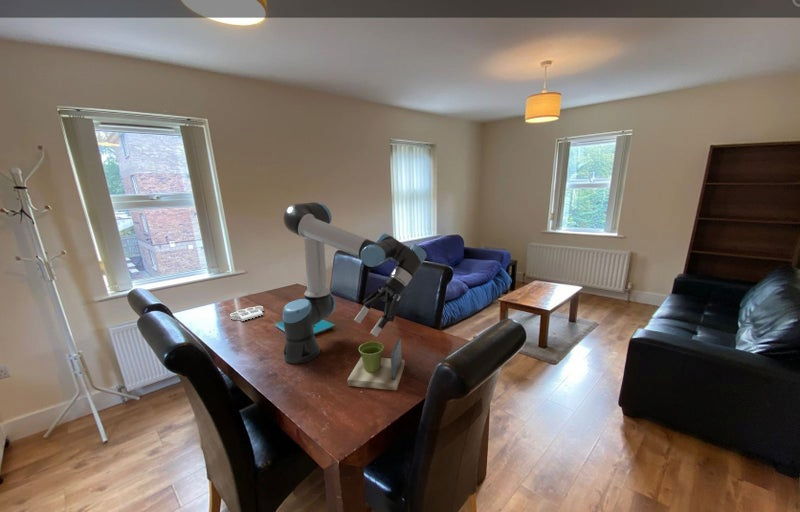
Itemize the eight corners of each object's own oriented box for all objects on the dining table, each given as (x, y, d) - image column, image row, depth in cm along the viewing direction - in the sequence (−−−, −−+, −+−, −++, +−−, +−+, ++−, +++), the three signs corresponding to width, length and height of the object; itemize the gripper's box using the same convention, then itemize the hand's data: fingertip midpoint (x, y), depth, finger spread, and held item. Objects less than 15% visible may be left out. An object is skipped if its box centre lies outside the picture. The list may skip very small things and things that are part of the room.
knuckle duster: (236, 325, 169) (227, 318, 179) (269, 315, 181) (259, 309, 191) (235, 319, 168) (227, 312, 178) (268, 309, 180) (258, 304, 191)
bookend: (391, 380, 110) (390, 354, 108) (398, 361, 122) (397, 338, 120) (395, 380, 110) (393, 354, 108) (401, 362, 121) (400, 338, 119)
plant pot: (375, 378, 112) (374, 356, 110) (354, 371, 116) (353, 350, 114) (389, 365, 119) (388, 345, 117) (369, 359, 124) (368, 339, 122)
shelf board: (347, 385, 112) (347, 379, 111) (361, 361, 127) (361, 356, 127) (396, 390, 108) (396, 383, 108) (404, 365, 124) (404, 359, 123)
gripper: (423, 294, 109) (388, 346, 105) (387, 279, 130) (357, 321, 125) (410, 283, 105) (373, 336, 101) (375, 269, 126) (344, 312, 121)
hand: (364, 328), depth 113 cm, fingers open, 13 cm apart
